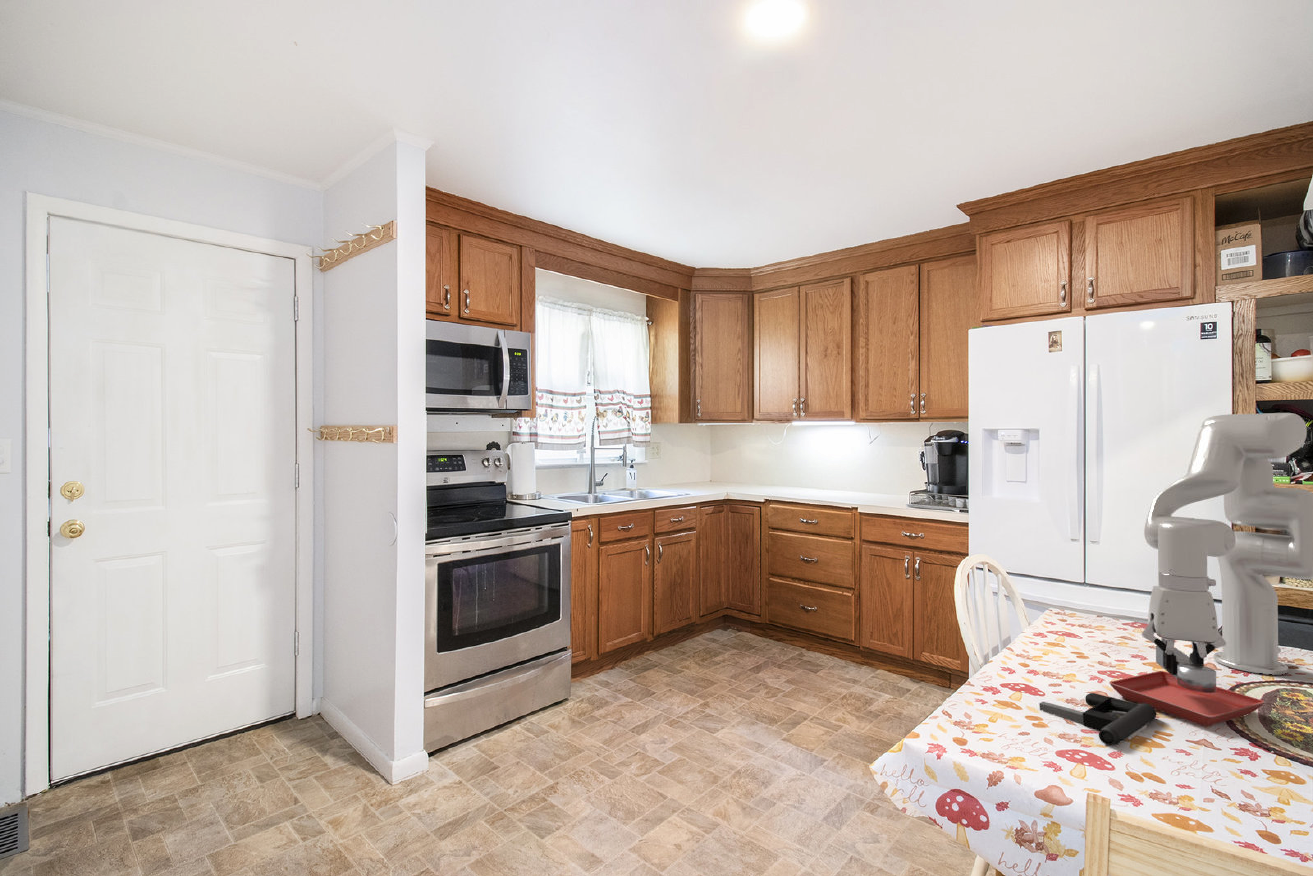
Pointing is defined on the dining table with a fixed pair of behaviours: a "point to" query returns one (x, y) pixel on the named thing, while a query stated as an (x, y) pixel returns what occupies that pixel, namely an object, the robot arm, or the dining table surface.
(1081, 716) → the door handle
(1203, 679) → the ball joint lever
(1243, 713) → the plant saucer
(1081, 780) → the dining table surface
